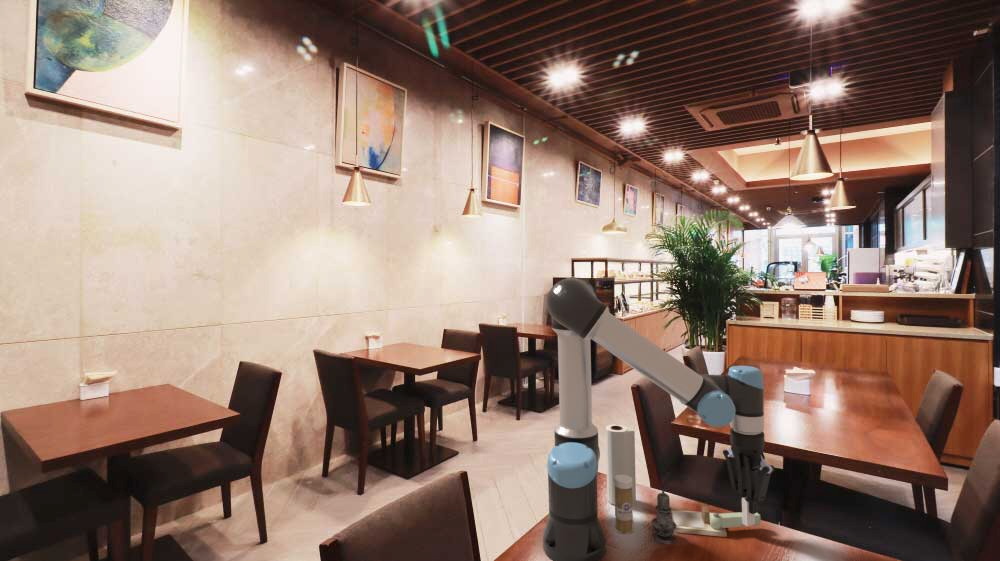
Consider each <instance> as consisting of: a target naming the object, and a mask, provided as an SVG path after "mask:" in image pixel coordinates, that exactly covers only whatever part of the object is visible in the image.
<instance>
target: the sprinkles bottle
mask: <svg viewBox="0 0 1000 561" xmlns="http://www.w3.org/2000/svg"><path fill="white" fill-rule="evenodd" d="M614 485H615V505H614V516H615V517H614V518H615V525H614V528H615V530H616V531H617V532H618V533H621V534H630V533H633V531H634V527H633V526H634V524H633V523H634V522H633V516H634V514H633V513H634V510H633V509H634V508H633V507H634V506H633V505H634V504H633V505H632V486H633V483H632V478H631V477H630V476H627V475H616V476H615V477H614Z"/></svg>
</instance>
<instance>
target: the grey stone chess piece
mask: <svg viewBox="0 0 1000 561" xmlns="http://www.w3.org/2000/svg"><path fill="white" fill-rule="evenodd" d="M656 499H657V505H656V506H655V510H656V512H657V514H656V517H655V518H652V519H651V525H652V528H653V530H654V533H653V534H652V537H653V539H654V540H655V541H656V542H658V543H660V544H664V545H670V544H671V545H672V544H674V543H675V542H676V537H675V535H674V533H675V528H676V523H675V522H674V521H673V520H672V518H671V509H672V508H671V506H670V505H671V504H670V495H668V494H667V493H665V490H664V489H662V491H661V492H659V493H658V494H657V495H656Z"/></svg>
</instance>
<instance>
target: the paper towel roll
mask: <svg viewBox="0 0 1000 561" xmlns="http://www.w3.org/2000/svg"><path fill="white" fill-rule="evenodd" d="M635 432H636V431H635V430H628V427H627V426H624V425H621V424H609V425H607V426H605V446H606V448H605V450H606V457H605V458H606V491H607V492H606V494H607V495H606V496H607V502H608V503H609V504H612V505H614V506H615V485H614V477H615V476H616V475H627V476H630V477H631V478H632V483H633V486H632V505H637V491H636V490H637V489H636V485H637V482H636V480H637V479H636V445H635V444H636V443H635V442H636V438H635V436H636V435H635Z"/></svg>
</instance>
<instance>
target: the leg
mask: <svg viewBox="0 0 1000 561" xmlns="http://www.w3.org/2000/svg"><path fill="white" fill-rule="evenodd" d="M711 513H712V514H710V526H711V527H712V528H715V529H721V528H725V529H726V528H739V527H746V526H745V525H744V524H742V511H741V512H740V511H739V512H728V513H727V512H724V513H723V512H722V513H719V514H718V512H711ZM753 526H754V527H755V526H761V514H759V513H758V512H757V513H755V524H753V525H751V526H750V527H753Z"/></svg>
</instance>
